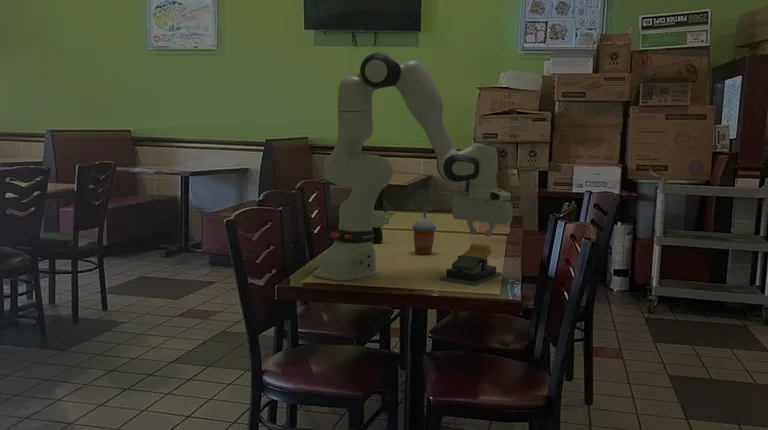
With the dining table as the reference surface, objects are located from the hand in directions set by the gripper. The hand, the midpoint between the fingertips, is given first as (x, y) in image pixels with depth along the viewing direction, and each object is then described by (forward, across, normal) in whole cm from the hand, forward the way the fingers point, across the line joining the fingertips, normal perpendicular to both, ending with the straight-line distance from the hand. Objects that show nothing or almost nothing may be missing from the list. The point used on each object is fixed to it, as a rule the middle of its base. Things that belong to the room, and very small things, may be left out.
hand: (480, 235), depth 229 cm
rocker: (+8, 0, -5) cm, 9 cm away
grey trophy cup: (+14, -63, +31) cm, 72 cm away
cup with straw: (+14, -35, +23) cm, 44 cm away
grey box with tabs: (+13, 0, -5) cm, 14 cm away
